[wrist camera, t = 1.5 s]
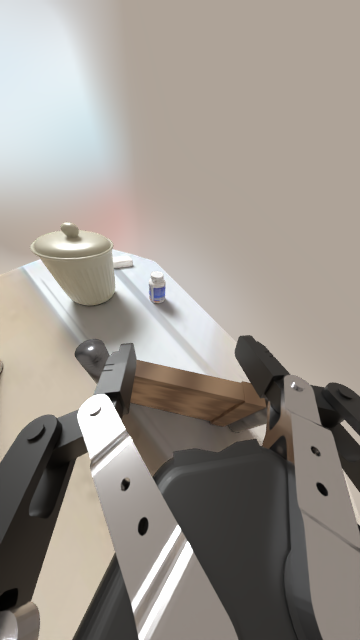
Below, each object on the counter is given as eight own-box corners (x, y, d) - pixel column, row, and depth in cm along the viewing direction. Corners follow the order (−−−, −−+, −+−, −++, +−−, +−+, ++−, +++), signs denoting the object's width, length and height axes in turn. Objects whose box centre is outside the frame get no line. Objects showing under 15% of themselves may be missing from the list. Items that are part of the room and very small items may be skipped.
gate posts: (107, 402, 27) (68, 358, 15) (114, 386, 29) (86, 336, 17) (243, 434, 26) (317, 414, 14) (241, 415, 29) (303, 384, 16)
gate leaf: (124, 404, 27) (105, 370, 17) (130, 390, 29) (115, 353, 18) (223, 426, 26) (266, 407, 16) (222, 412, 28) (261, 385, 18)
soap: (129, 261, 69) (128, 255, 67) (133, 266, 66) (132, 260, 64) (110, 263, 65) (108, 257, 63) (113, 269, 62) (111, 262, 60)
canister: (133, 289, 53) (124, 224, 38) (98, 321, 41) (65, 242, 26) (92, 276, 56) (69, 210, 41) (48, 302, 44) (-9, 221, 29)
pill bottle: (167, 298, 52) (169, 273, 45) (159, 305, 49) (159, 280, 42) (155, 292, 54) (155, 268, 47) (146, 299, 50) (144, 274, 43)
